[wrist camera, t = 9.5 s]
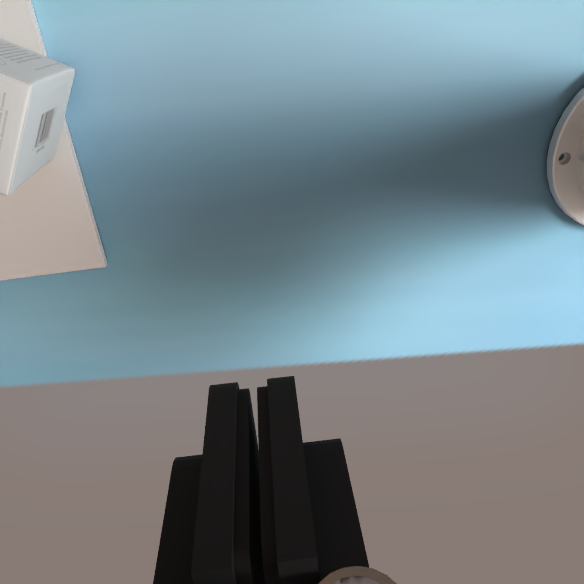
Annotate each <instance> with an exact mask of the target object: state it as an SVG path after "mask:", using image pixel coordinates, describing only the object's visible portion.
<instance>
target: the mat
mask: <svg viewBox="0 0 584 584" xmlns="http://www.w3.org/2000/svg"><path fill="white" fill-rule="evenodd" d="M0 38H1V39H4V40H6V41H8V42H11V43H13V44H16V45H18V46H21V47H23V48H26V49H28V50H31V51H33V52H36V53H38V54H41V55H43V56H45V57H47V53H46V50H45V46H44V43H43V40H42V36H41V33H40V29H39V26H38V22H37V19H36V15H35V12H34V9H33V5H32V2H31V0H0ZM107 264H108V263H107V260H106V256H105V253H104V249H103V246H102V242H101V239H100V235H99V232H98V229H97V225H96V222H95V218H94V215H93V211H92V208H91V205H90V201H89V198H88V194H87V191H86V187H85V184H84V180H83V177H82V174H81V170H80V167H79V163H78V160H77V156H76V153H75V150H74V146H73V143H72V139H71V136H70V132H69V129H68V125H67V122H66V119H65V117H64V121H63V125H62V129H61V133H60V137H59V140H58V144H57V147H56V151H55V154H54V158H53V160H52V161H51V162H49V163H47V164H46V165H45V166H43V167H42V168H41V169H40V170H39V171H37V172H36V173H35V174H33V175H32V176H31V177H30V178H28V179H27V180H26V181H25V182H24V183H23V184H21V185H20V186H19V187H18V188H17V189H16V190H15V191H14V193H12V194H11V195H8V196H5V195H1V194H0V281H1V280H9V279H16V278H24V277H32V276H40V275H48V274H55V273H63V272H71V271H79V270H87V269H94V268H102V267H106V266H107Z"/></svg>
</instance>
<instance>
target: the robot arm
mask: <svg viewBox="0 0 584 584" xmlns="http://www.w3.org/2000/svg"><path fill="white" fill-rule="evenodd" d="M560 155H561V156H560ZM559 157H560V158H559ZM547 179H548V183H549V187H550V191H551V193H552V195H553V197H554V199H555V201H556V203H557V205H558V206H559V207H560V208H561V209H562V210H563V212H564V213H565V214H566V215H568V216H569V217H571V218H572V219H573V220H575V221H576V222H578V223H580V224H582V225H583V226H584V87H583V88H582V89H581V90H580V91H579V92H578V93H577V94H576V95H575V97H574V98H573V99H572V101H571V102H570V103H569V105H568V106H567V108H566V109H565V110H564V112H563V114H562V116H561V118H560V120H559V121H558V123H557V125H556V127H555V130H554V133H553V136H552V139H551V142H550V144H549V150H548V157H547ZM267 385H268V386H266V387H258V388H257V401H258V437H259V450H258V443H257V437H256V430H255V423H254V417H253V410H252V403H251V397H250V391H249V389H239V385H238V383H237V382H236V383H227V384H219V385H211V386H210V388H209V396H208V406H207V416H206V426H205V436H204V447H203V455H195V456H187V457H177V458H175V460H174V462H173V466H172V471H171V477H170V483H169V490H168V496H167V502H166V508H165V515H164V520H163V526H162V532H161V538H160V545H159V551H158V557H157V563H156V570H155V576H154V581H153V584H396V583H395V582H394V581H393V580H392V579H391V578H389V577H388V576H387V575H385V574H383V573H381V572H379V571H377V570H375V569H373V568H369V564H368V560H367V555H366V551H365V546H364V541H363V537H362V532H361V528H360V523H359V518H358V515H357V509H356V505H355V500H354V496H353V491H352V487H351V482H350V478H349V473H348V468H347V464H346V459H345V455H344V450H343V446H342V442H341V439H332V440H323V441H315V442H306V443H303V442H302V434H301V426H300V418H299V411H298V403H297V395H296V388H295V380H294V376H289V377H280V378H271V379H267Z"/></svg>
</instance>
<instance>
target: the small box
mask: <svg viewBox="0 0 584 584" xmlns="http://www.w3.org/2000/svg"><path fill="white" fill-rule="evenodd" d="M74 75H75V69H74V68H72V67H70V66H67V65H65V64H62V63H60V62H58V61H55V60H53V59H50V58H48V57H45V56H43V55H41V54H38V53H36V52H33V51H31V50H28V49H26V48H23V47H21V46H18V45H16V44H13V43H11V42H8V41H6V40H4V39H1V38H0V194H1V195H5V196H8V195H11V194H12V193H14V191H15V190H16V189H17V188H18V187H19V186H20V185H21V184H23V183H24V182H25V181H26V180H27V179H28V178H30V177H31V176H32V175H33V174H35V173H36V172H37V171H39V170H40V169H41V168H42V167H43V166H45V165H46V164H47V163H49V162H51V161H52V160H53V158H54V154H55V151H56V147H57V144H58V140H59V137H60V133H61V129H62V125H63V121H64V117H65V113H66V109H67V105H68V101H69V97H70V92H71V88H72V84H73V80H74Z"/></svg>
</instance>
